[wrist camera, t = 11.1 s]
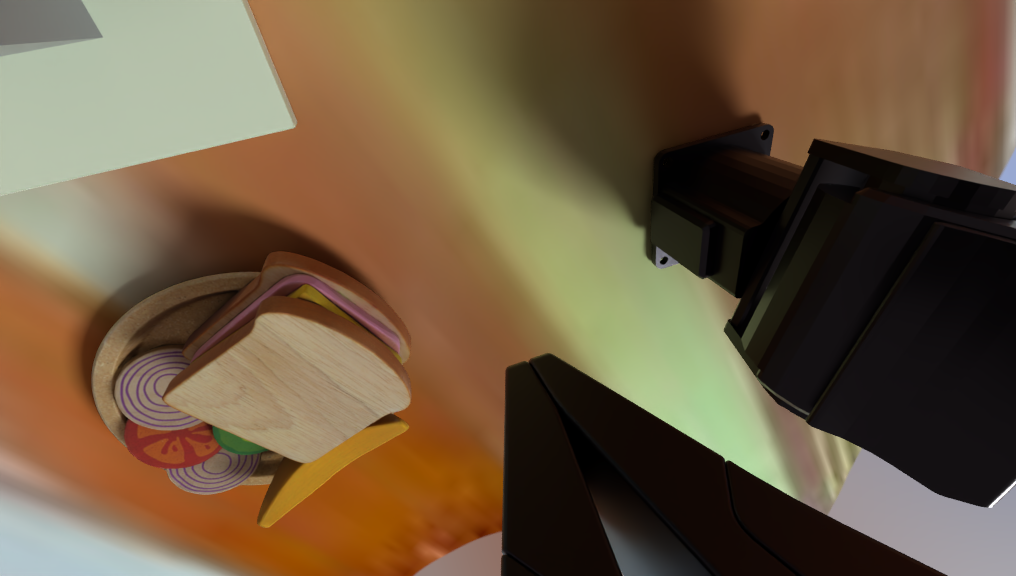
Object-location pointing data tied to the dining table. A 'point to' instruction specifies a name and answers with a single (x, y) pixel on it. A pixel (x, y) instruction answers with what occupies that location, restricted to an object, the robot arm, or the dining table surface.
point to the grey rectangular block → (43, 24)
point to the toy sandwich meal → (256, 379)
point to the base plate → (137, 91)
